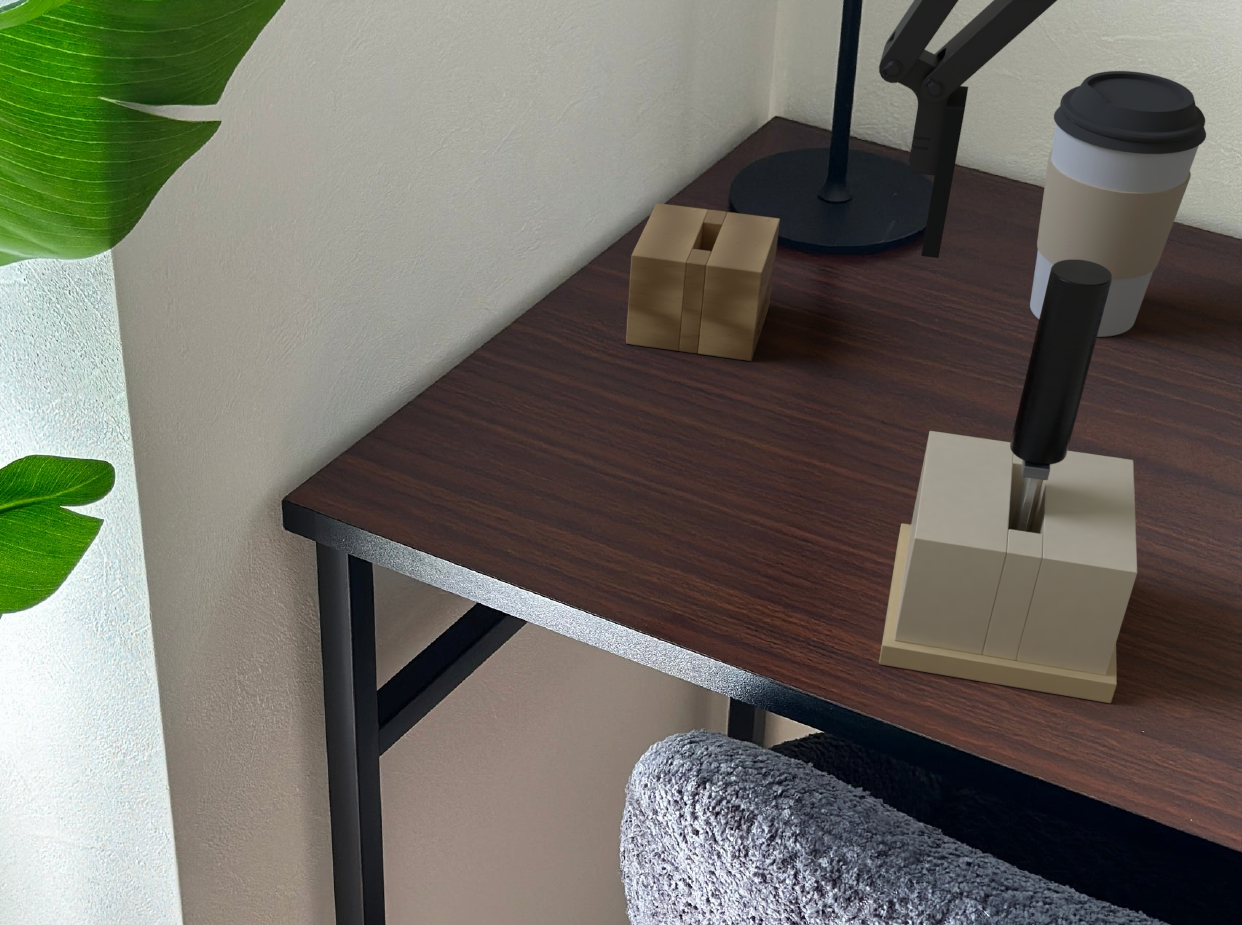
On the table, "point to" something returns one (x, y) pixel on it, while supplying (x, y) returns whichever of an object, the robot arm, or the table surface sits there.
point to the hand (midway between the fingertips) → (1090, 263)
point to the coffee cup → (1116, 183)
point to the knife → (1057, 372)
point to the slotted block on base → (1014, 570)
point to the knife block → (701, 281)
